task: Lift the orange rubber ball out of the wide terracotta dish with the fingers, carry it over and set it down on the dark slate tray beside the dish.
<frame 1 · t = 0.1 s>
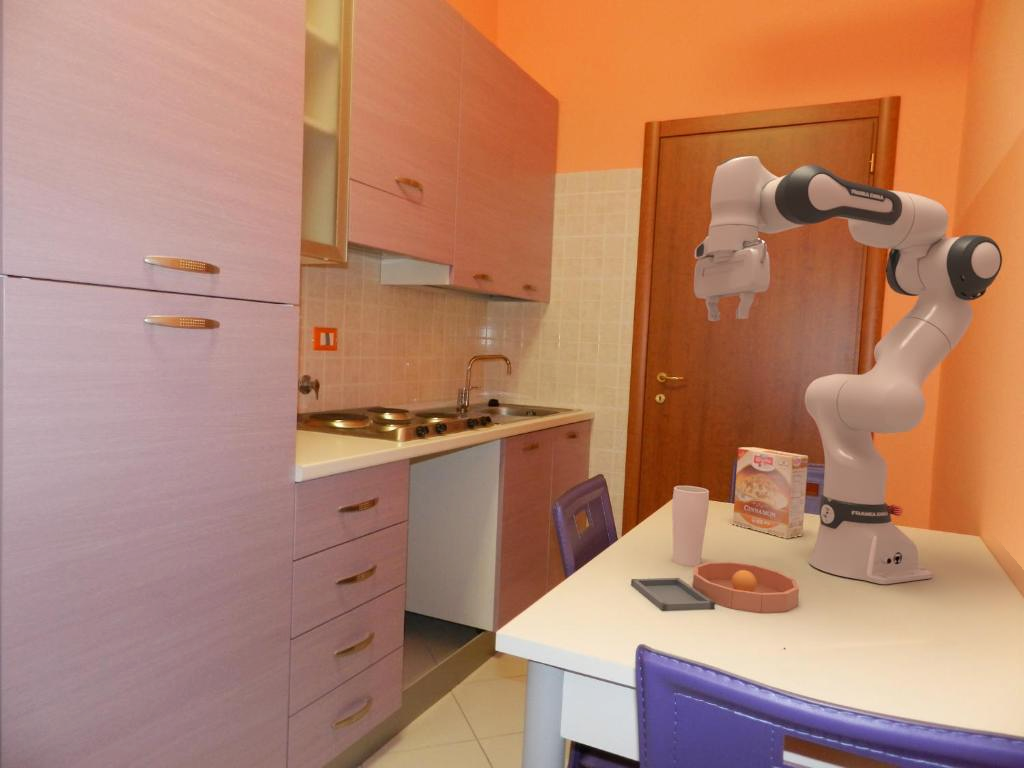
hand: (727, 319, 127), 48 cm above the table, tool pointing down, fingers open, 8 cm apart
tray: (670, 599, 112), on the table
ball: (743, 593, 115), point 1 cm above the table, touching bowl
drinking glass: (686, 565, 133), on the table
bowl: (743, 597, 115), on the table
coffeecake box: (766, 531, 165), on the table
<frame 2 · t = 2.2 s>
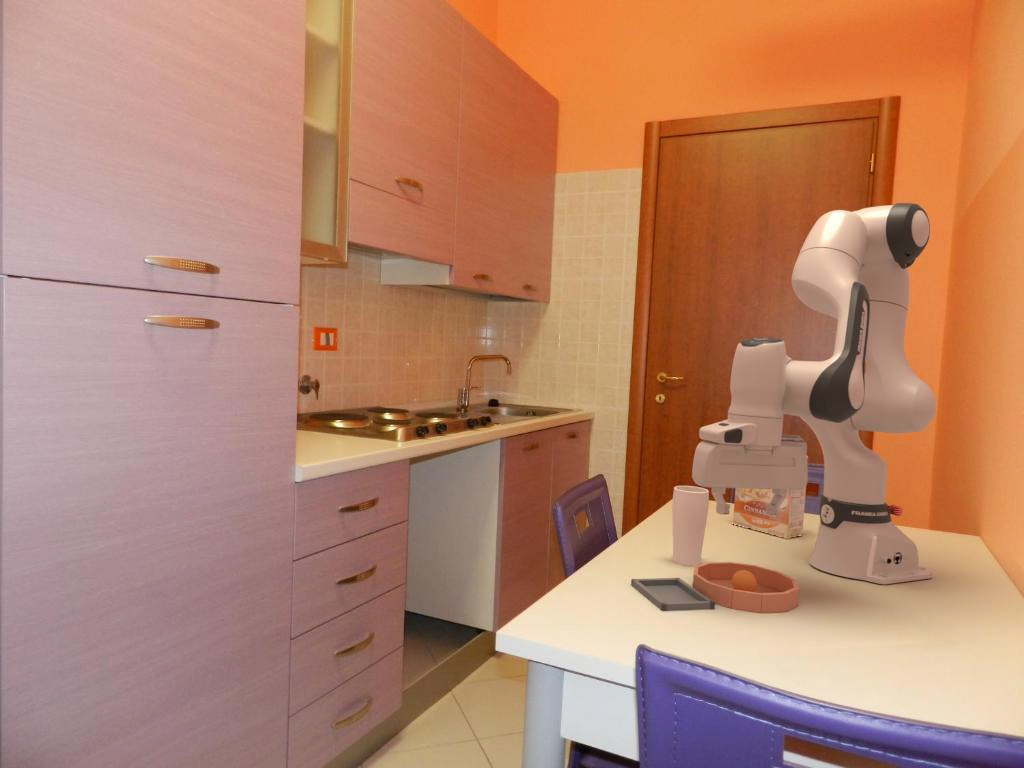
hand: (747, 514, 115), 14 cm above the table, tool pointing down, fingers open, 8 cm apart
nothing on the table moved.
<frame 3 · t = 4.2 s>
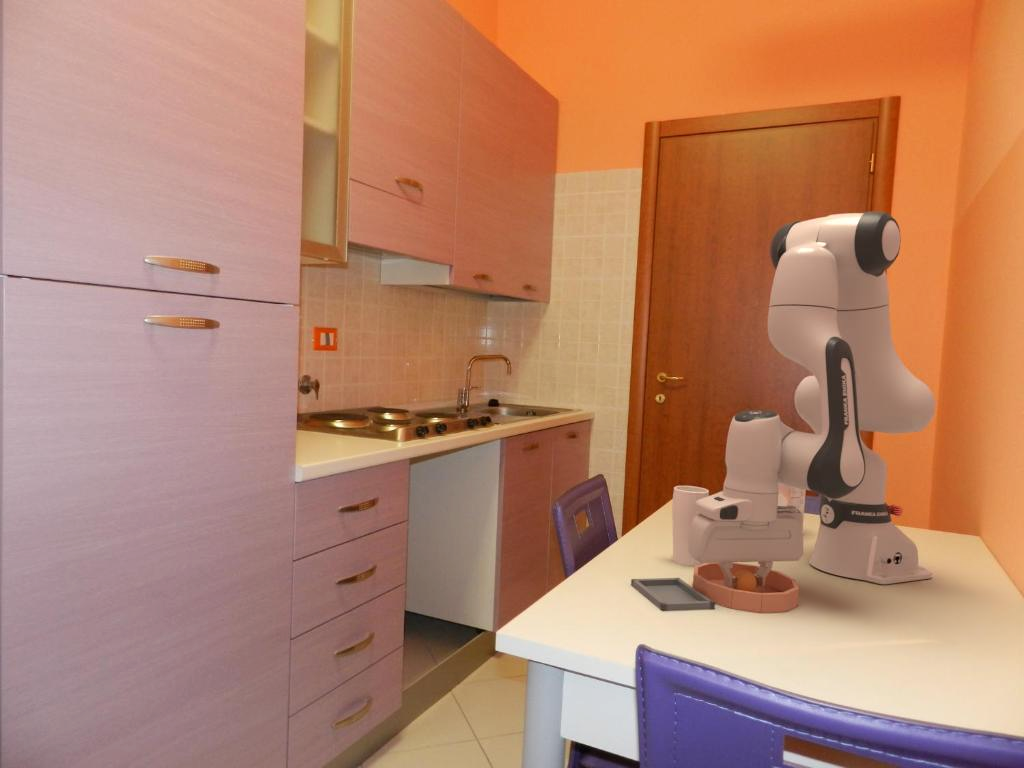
hand: (744, 586, 115), 2 cm above the table, tool pointing down, fingers closed on ball, 4 cm apart
ball: (743, 593, 115), point 1 cm above the table, touching bowl, gripper
everything else where it was.
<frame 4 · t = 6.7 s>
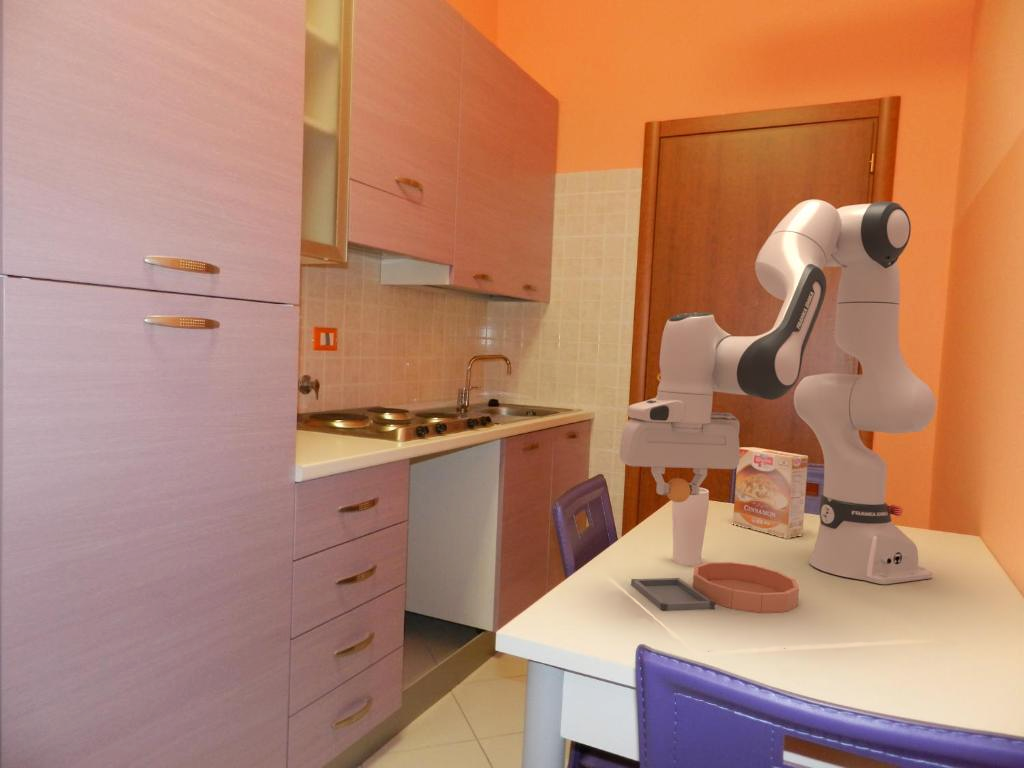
hand: (677, 494, 111), 18 cm above the table, tool pointing down, fingers closed on ball, 4 cm apart
ball: (677, 502, 111), point 16 cm above the table, touching gripper
everything else where it was.
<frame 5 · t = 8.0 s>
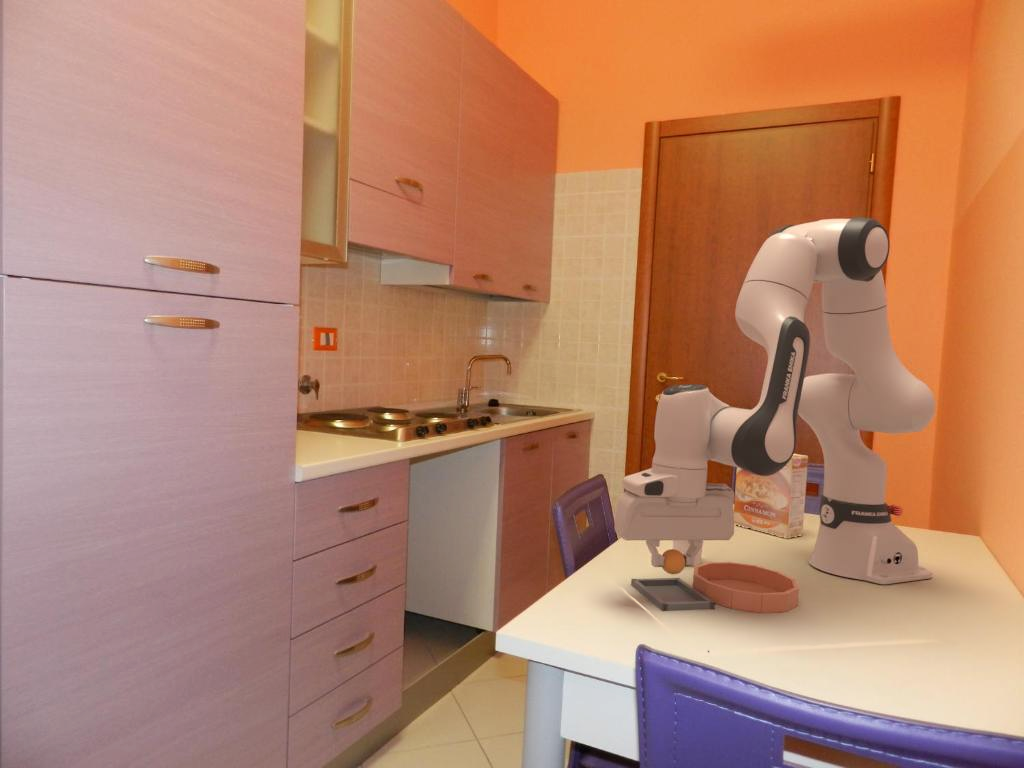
hand: (672, 566, 112), 6 cm above the table, tool pointing down, fingers closed on ball, 4 cm apart
ball: (671, 573, 112), point 4 cm above the table, touching gripper
everything else where it was.
when the fingers open (4 cm above the table, at t = 9.0 s): ball drops 2 cm, resting on tray.
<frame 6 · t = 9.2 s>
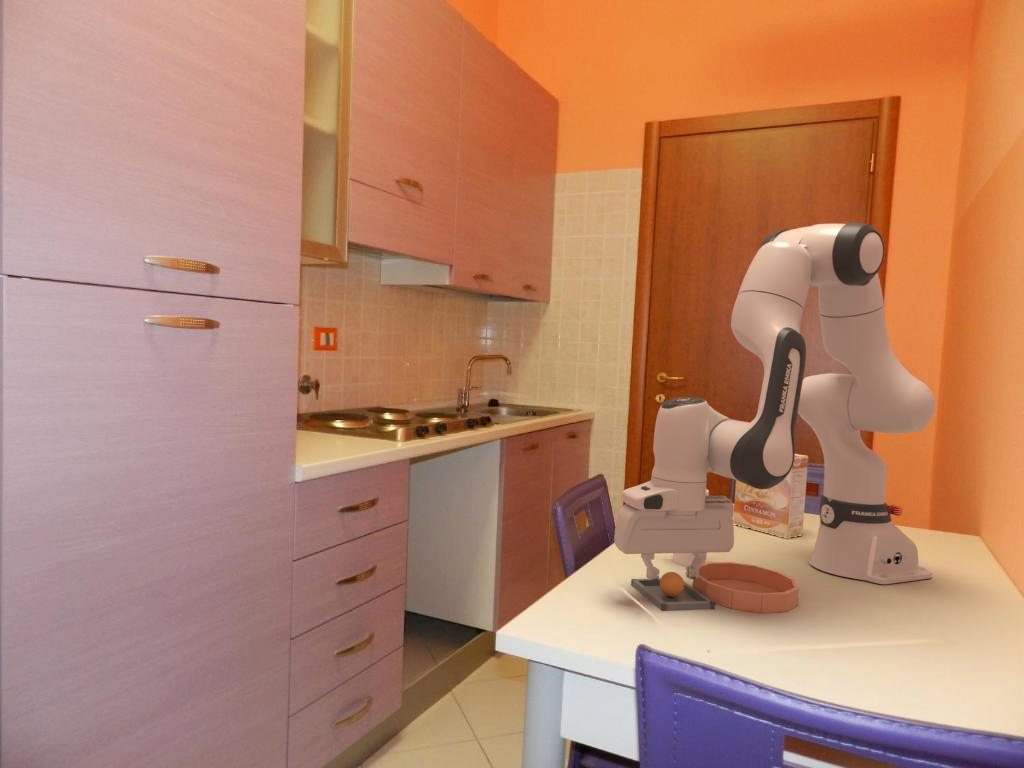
hand: (672, 578, 112), 4 cm above the table, tool pointing down, fingers open, 6 cm apart
ball: (671, 596, 112), point 1 cm above the table, touching tray
everything else where it was.
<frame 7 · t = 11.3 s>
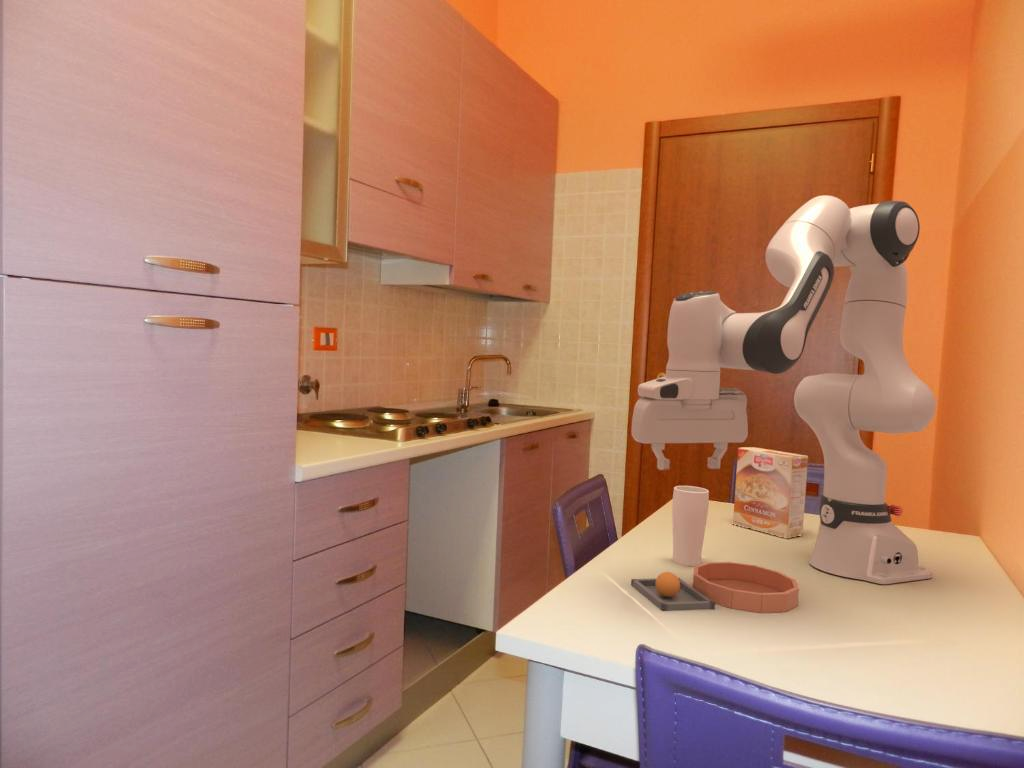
hand: (688, 468, 115), 21 cm above the table, tool pointing down, fingers open, 8 cm apart
ball: (671, 595, 112), point 1 cm above the table, tilted 23°, touching tray
everything else where it was.
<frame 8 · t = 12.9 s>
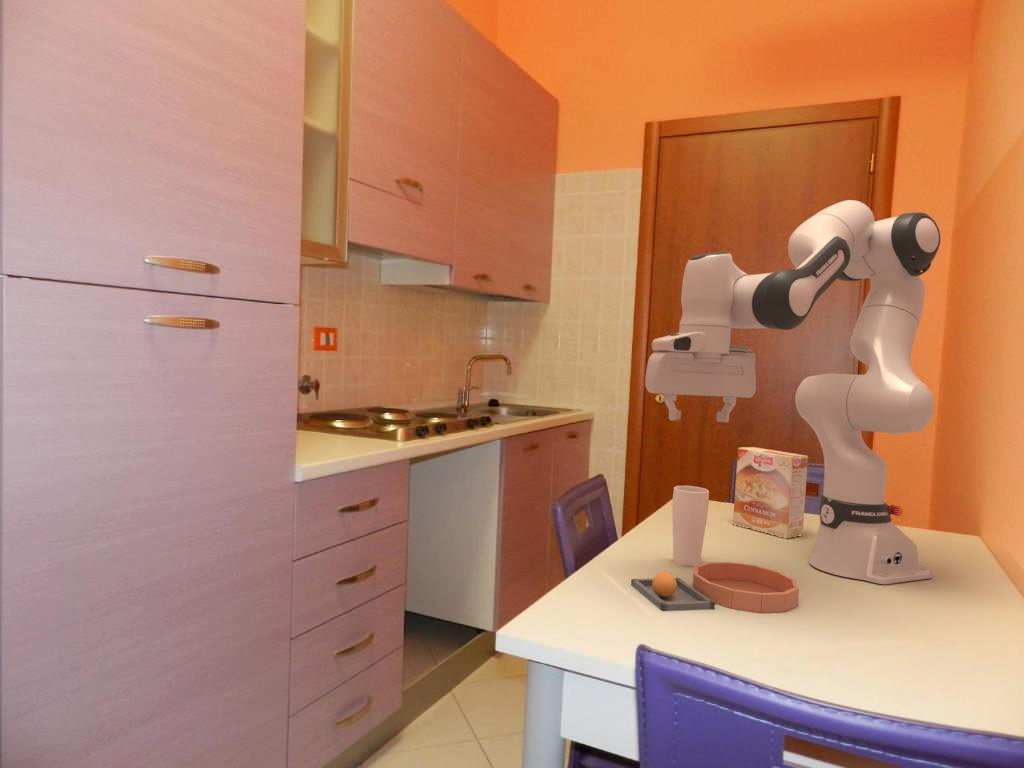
hand: (698, 421, 121), 29 cm above the table, tool pointing down, fingers open, 8 cm apart
ball: (671, 593, 112), point 1 cm above the table, tilted 40°, touching tray
everything else where it was.
at the end: ball inside the target area on the tray (0.1 cm from its centre), point 1.1 cm above the tray's base; the gripper is holding nothing; ball touching tray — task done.
